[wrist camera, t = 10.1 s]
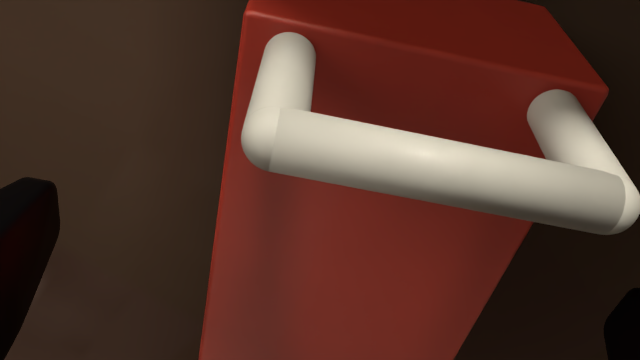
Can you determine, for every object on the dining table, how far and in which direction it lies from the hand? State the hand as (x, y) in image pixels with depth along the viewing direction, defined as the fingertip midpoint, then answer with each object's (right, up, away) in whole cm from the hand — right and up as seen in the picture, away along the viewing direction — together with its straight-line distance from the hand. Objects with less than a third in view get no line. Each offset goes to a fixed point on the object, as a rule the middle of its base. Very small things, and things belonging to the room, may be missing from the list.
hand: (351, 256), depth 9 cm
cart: (0, +2, +3) cm, 4 cm away
